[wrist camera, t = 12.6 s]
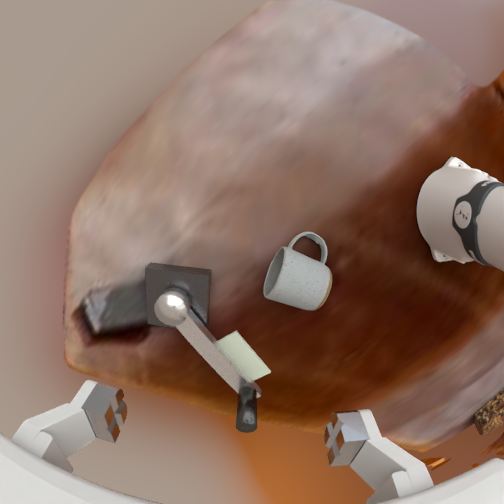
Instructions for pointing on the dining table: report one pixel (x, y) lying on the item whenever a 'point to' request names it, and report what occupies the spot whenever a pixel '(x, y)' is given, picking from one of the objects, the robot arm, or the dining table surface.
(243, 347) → the mat
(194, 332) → the lever arm
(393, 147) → the dining table surface
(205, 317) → the lever base
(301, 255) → the ceramic mug
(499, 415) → the bread
